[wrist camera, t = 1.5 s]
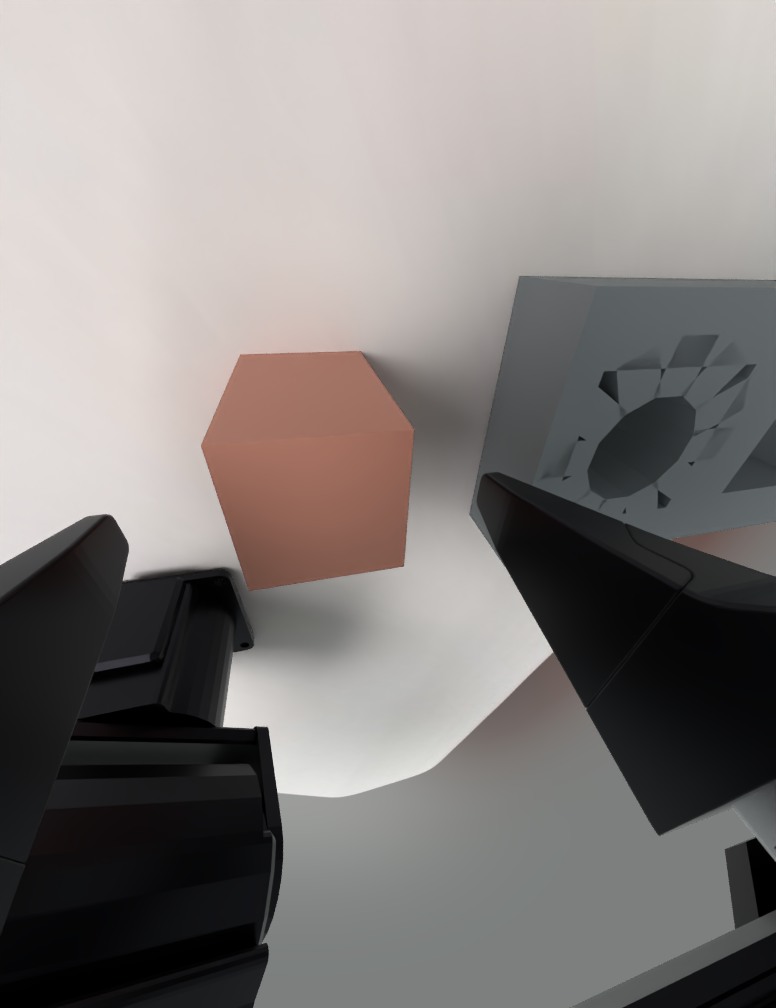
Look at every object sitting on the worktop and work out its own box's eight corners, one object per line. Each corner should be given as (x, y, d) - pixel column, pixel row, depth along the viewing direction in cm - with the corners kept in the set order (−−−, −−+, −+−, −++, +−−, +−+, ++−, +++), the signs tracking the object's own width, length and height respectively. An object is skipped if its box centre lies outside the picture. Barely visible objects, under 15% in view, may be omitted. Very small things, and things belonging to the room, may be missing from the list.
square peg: (362, 452, 15) (404, 566, 10) (263, 460, 14) (249, 590, 9) (360, 351, 13) (414, 429, 7) (240, 354, 12) (201, 445, 6)
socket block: (723, 480, 23) (793, 518, 19) (469, 514, 19) (505, 566, 16) (866, 281, 16) (1006, 290, 13) (519, 276, 12) (597, 286, 9)
